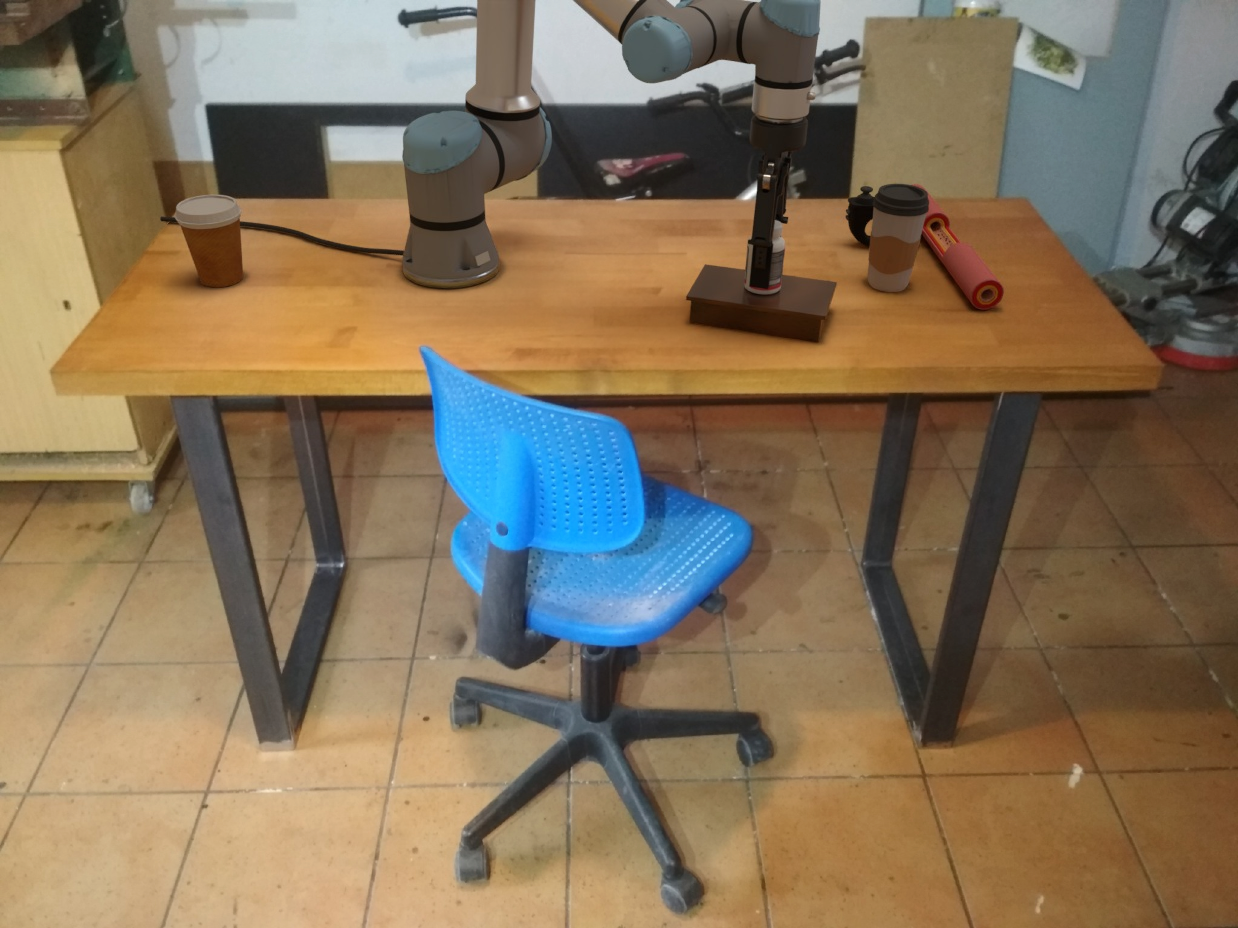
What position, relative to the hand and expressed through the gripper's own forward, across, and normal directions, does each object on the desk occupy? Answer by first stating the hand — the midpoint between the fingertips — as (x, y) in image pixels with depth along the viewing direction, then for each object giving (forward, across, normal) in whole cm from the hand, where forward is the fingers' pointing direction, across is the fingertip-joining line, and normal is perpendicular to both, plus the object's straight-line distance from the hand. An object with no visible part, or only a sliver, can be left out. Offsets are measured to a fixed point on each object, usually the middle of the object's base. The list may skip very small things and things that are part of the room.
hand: (763, 276), depth 154 cm
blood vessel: (+7, +33, -25) cm, 42 cm away
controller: (+7, +34, -14) cm, 37 cm away
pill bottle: (+2, 0, 0) cm, 2 cm away
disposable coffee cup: (+7, -14, +82) cm, 83 cm away
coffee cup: (+7, +18, -17) cm, 26 cm away
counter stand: (+6, 0, 0) cm, 6 cm away
